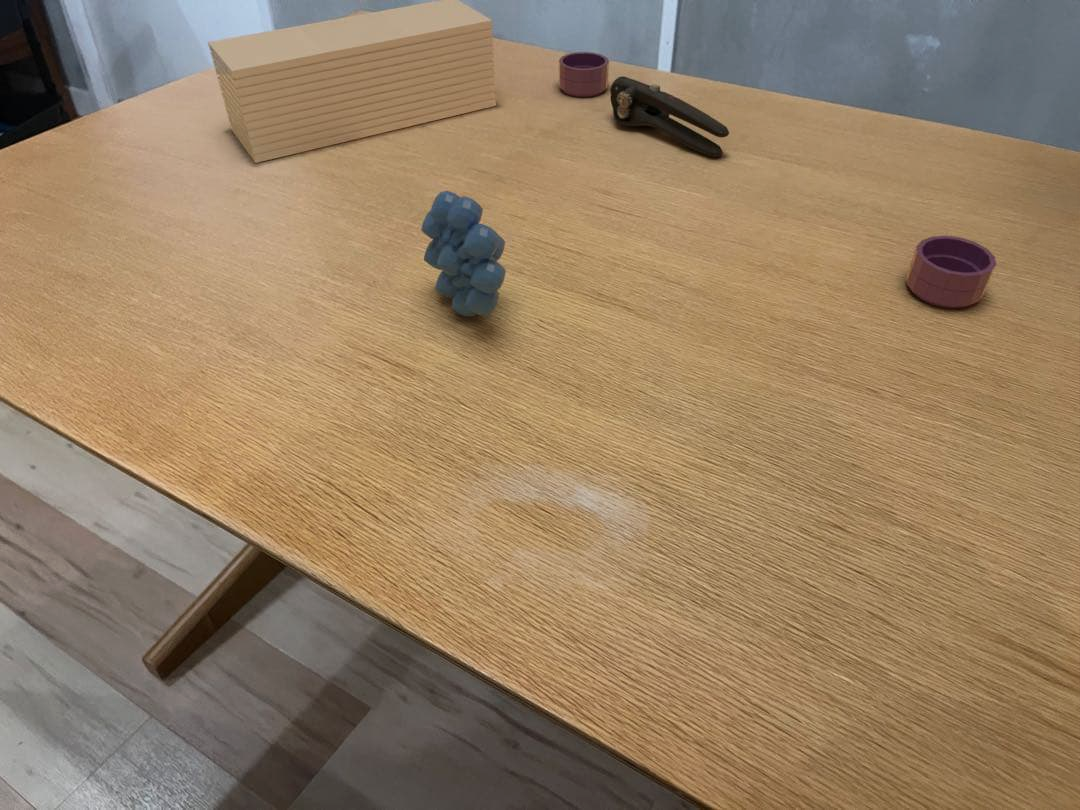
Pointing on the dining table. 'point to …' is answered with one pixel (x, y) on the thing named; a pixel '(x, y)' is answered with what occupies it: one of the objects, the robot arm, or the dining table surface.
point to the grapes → (464, 254)
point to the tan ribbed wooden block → (354, 76)
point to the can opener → (664, 114)
